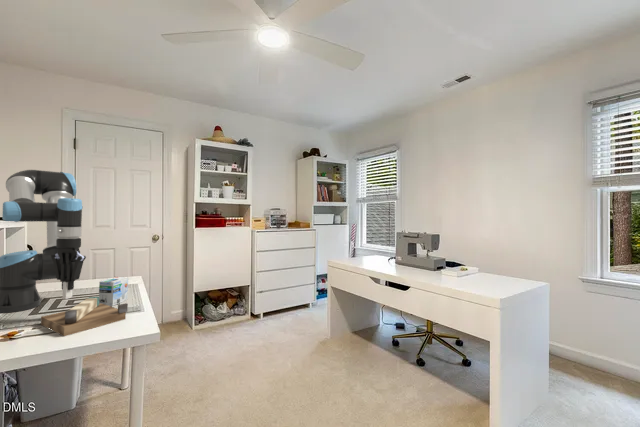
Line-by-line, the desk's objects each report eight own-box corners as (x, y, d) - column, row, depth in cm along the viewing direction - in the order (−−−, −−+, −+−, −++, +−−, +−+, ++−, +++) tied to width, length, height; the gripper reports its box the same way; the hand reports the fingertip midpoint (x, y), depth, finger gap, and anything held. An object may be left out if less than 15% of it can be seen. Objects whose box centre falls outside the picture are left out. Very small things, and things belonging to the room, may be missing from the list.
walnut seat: (40, 324, 113) (41, 308, 113) (102, 310, 131) (103, 295, 131) (64, 336, 104) (65, 318, 104) (127, 318, 122) (127, 303, 122)
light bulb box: (112, 306, 136) (113, 282, 136) (97, 305, 136) (98, 281, 136) (128, 299, 146) (129, 277, 146) (114, 298, 147) (115, 276, 147)
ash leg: (74, 323, 107) (74, 312, 107) (62, 324, 106) (62, 313, 106) (98, 305, 127) (99, 296, 127) (88, 305, 126) (89, 296, 126)
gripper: (44, 237, 117) (42, 299, 117) (75, 239, 116) (73, 301, 116) (63, 236, 125) (61, 294, 125) (92, 237, 123) (90, 296, 123)
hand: (67, 297), depth 120 cm, fingers closed
